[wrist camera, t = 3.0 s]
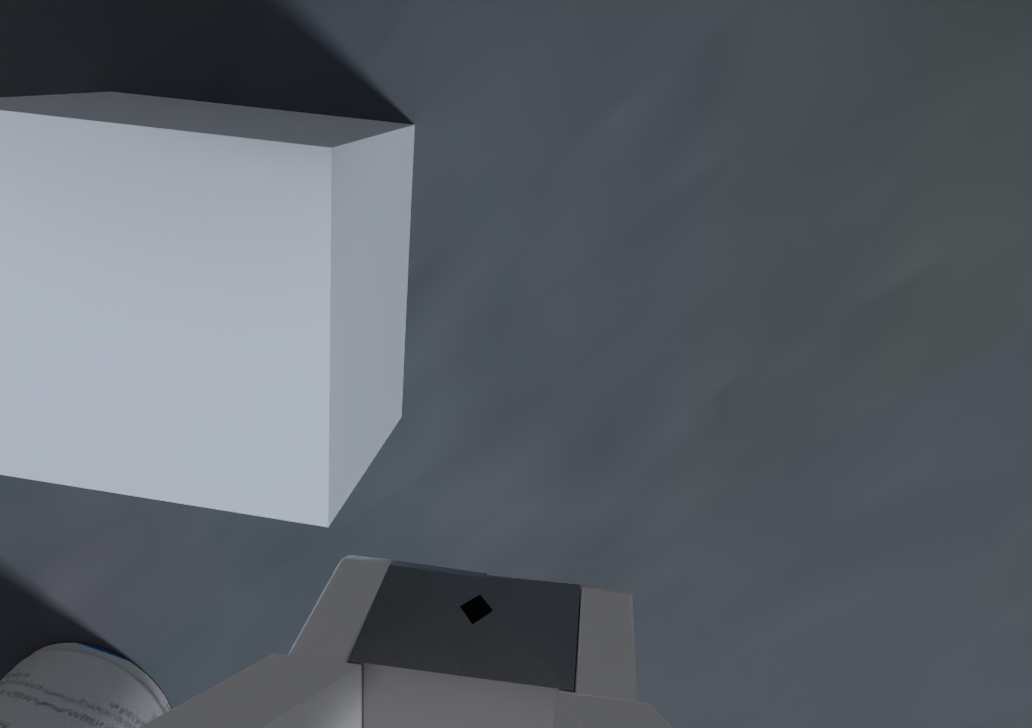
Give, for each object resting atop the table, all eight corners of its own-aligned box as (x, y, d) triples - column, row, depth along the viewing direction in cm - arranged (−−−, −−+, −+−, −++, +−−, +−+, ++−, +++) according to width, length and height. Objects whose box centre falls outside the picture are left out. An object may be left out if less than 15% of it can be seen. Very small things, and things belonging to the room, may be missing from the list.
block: (416, 124, 20) (331, 148, 14) (402, 414, 23) (328, 527, 17) (115, 91, 21) (-76, 101, 15) (138, 376, 24) (-14, 472, 18)
